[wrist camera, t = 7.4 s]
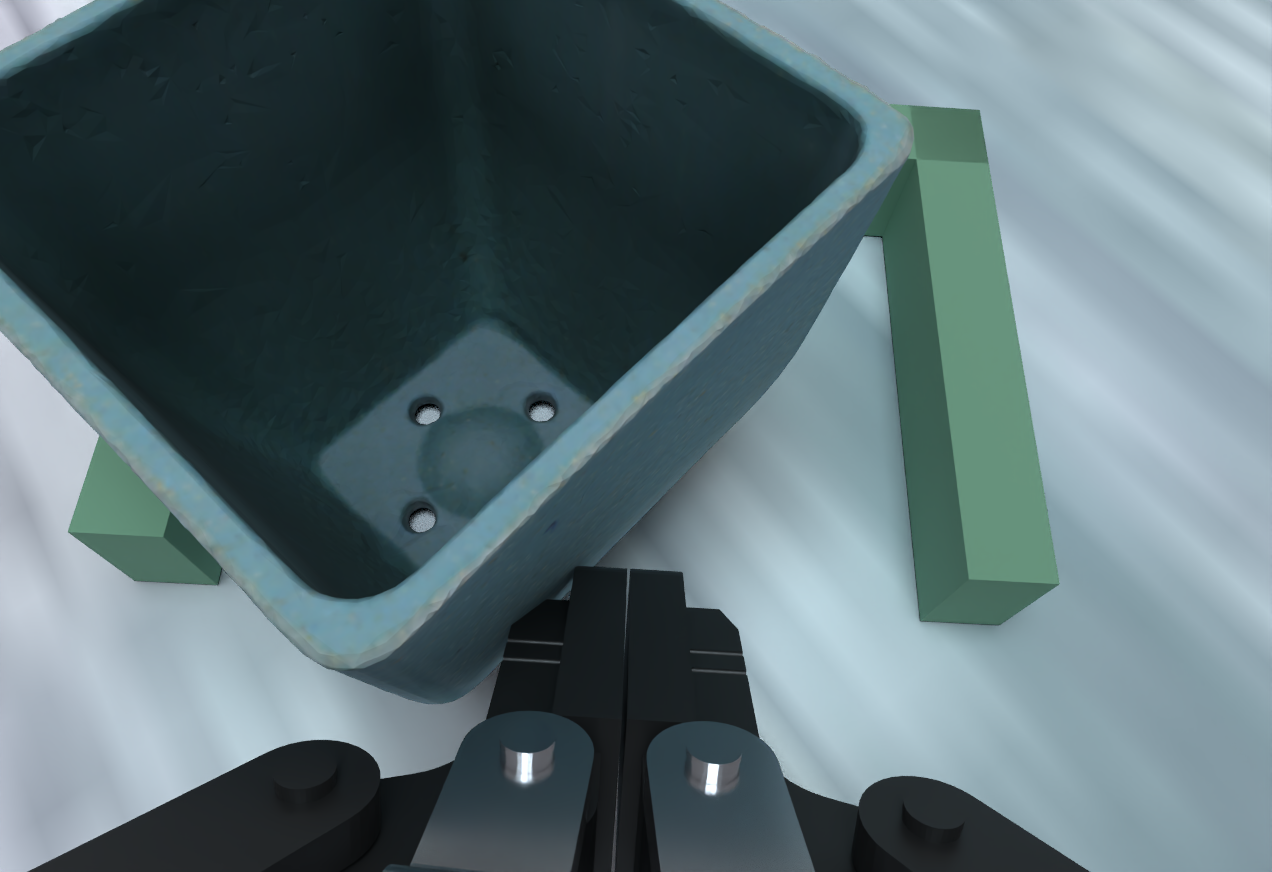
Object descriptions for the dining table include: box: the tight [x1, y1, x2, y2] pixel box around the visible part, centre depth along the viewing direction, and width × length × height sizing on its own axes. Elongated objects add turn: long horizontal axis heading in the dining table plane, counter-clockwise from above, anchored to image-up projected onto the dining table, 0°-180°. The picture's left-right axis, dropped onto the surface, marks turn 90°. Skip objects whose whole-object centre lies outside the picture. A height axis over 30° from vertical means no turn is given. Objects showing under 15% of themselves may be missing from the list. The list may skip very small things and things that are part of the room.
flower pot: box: [0, 0, 914, 704], centre depth 15 cm, size 9×9×9 cm
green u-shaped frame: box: [68, 104, 1060, 625], centre depth 13 cm, size 16×10×14 cm, turn 88°
